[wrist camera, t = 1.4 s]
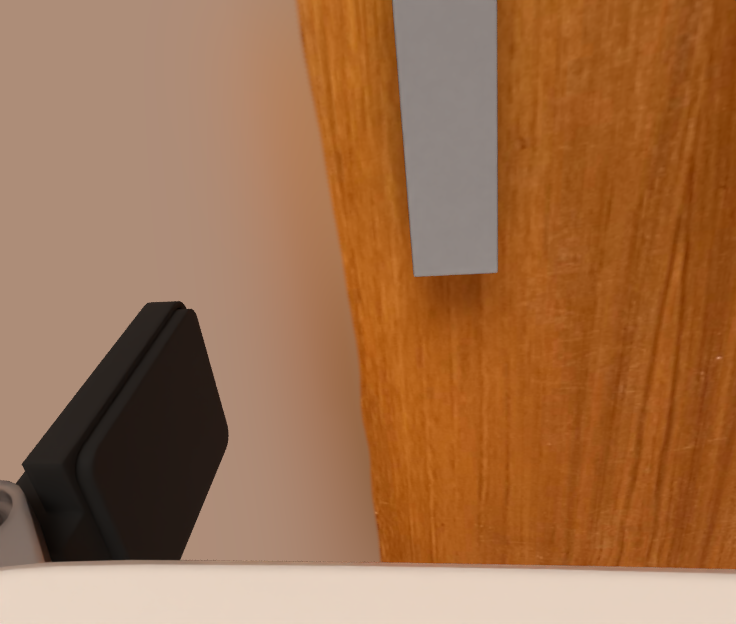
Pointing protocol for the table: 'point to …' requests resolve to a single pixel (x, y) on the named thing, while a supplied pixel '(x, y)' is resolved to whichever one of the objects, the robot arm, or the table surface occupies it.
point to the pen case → (449, 132)
